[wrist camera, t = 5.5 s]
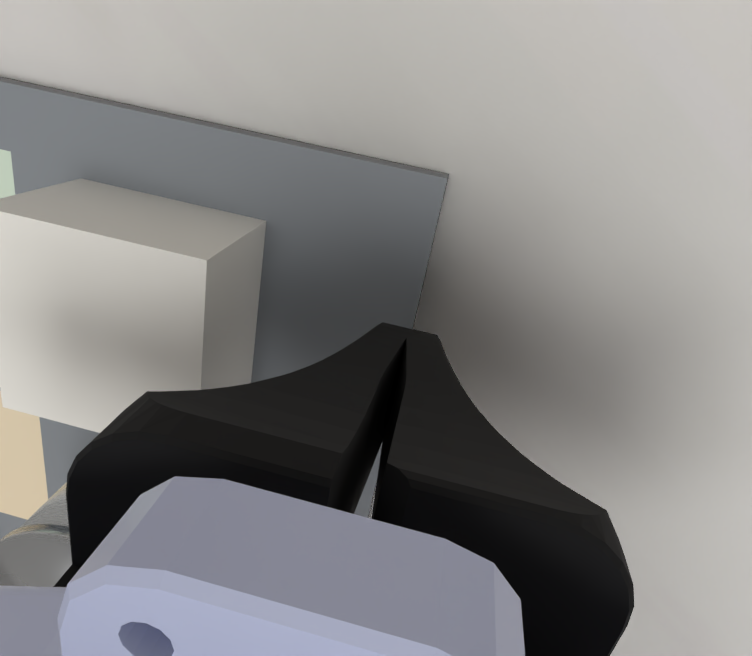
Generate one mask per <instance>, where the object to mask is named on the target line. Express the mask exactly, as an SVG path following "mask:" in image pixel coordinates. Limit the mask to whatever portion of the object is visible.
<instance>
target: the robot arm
mask: <svg viewBox="0 0 752 656" xmlns="http://www.w3.org/2000/svg"><path fill="white" fill-rule="evenodd" d="M381 444H382V448H381V455H380V462H379V469H378V477H377V484H376V491H375V499H374V506H373V513H372V519H370V518H367V517H363V516H359V515H356V514H354V512H355V510H356V507H357V505H358V502H359V500H360V497H361V495H362V492H363V490H364V487H365V484H366V482H367V479H368V477H369V474H370V472H371V469H372V467H373V464H374V462H375V459H376V457H377V454H378V452H379V449H380V446H381ZM66 502H67V513H68V524H69V536H70V547H71V558H72V565H71V566H70V567H69V569H68V570H67V571H66V572H65V573H64V575H63V576H62V577H61V578H60V579H59V581H58V582H57V583H56V584H55V585H54V586H53V587H38V586H0V656H610V654H611V653H612V651H613V649H614V647H615V646H616V644H617V642H618V641H619V639H620V637H621V635H622V634H623V632H624V630H625V629H626V627H627V625H628V622H629V619H630V616H631V613H632V611H633V608H634V592H633V582H632V579H631V576H630V572H629V569H628V566H627V563H626V559H625V556H624V553H623V550H622V547H621V544H620V541H619V539H618V536H617V534H616V532H615V529H614V527H613V525H612V523H611V520H610V518H609V515H608V513H607V510H605V509H603V508H602V507H600V506H598V505H597V504H595V503H593V502H591V501H590V500H588V499H586V498H585V497H583V496H581V495H580V494H578V493H576V492H575V491H573V490H571V489H570V488H568V487H566V486H565V485H563V484H561V483H560V482H558V481H557V480H555V479H554V478H553V477H551V476H550V475H549V474H547V473H546V472H544V471H543V470H542V469H540V468H539V467H537V466H536V465H535V464H533V463H532V462H531V461H530V460H528V459H527V458H526V457H525V456H523V455H522V454H521V453H520V452H519V451H518V450H517V449H515V448H514V447H513V446H512V445H511V444H510V443H509V442H508V441H507V440H506V439H504V438H503V437H502V436H501V435H500V434H499V433H498V432H497V431H496V430H495V429H494V428H493V427H492V425H491V424H490V423H489V422H488V421H487V420H486V418H485V417H484V416H483V415H482V414H481V413H480V412H479V410H478V409H477V408H476V407H475V405H474V404H473V403H472V401H471V400H470V398H469V397H468V395H467V394H466V392H465V391H464V389H463V388H462V386H461V384H460V382H459V381H458V379H457V377H456V375H455V373H454V371H453V369H452V367H451V365H450V363H449V361H448V359H447V357H446V354H445V352H444V349H443V347H442V344H441V341H440V339H439V338H438V336H437V335H434V334H430V333H426V332H422V331H417V330H413V329H409V328H405V327H401V326H397V325H393V324H388V323H384V322H382V323H380V324H379V325H377V326H375V327H374V328H373V329H371V330H370V331H369V332H367V333H366V334H364V335H363V336H362V337H360V338H359V339H357V340H356V341H354V342H353V343H351V344H349V345H348V346H346V347H345V348H343V349H342V350H340V351H338V352H336V353H335V354H333V355H331V356H329V357H327V358H325V359H323V360H321V361H319V362H317V363H315V364H312V365H310V366H307V367H305V368H302V369H299V370H297V371H294V372H291V373H288V374H285V375H281V376H277V377H273V378H269V379H265V380H261V381H257V382H253V383H248V384H243V385H237V386H231V387H223V388H214V389H204V390H185V391H147V392H146V393H144V394H143V395H142V396H141V397H139V398H138V399H137V400H136V401H134V402H133V403H132V404H131V405H130V406H128V407H127V408H126V409H125V410H124V411H123V412H122V413H121V414H119V415H118V416H117V417H116V418H115V419H114V420H113V421H112V422H111V423H110V424H109V425H108V426H107V427H106V428H105V429H104V430H103V431H102V432H101V433H100V434H98V435H97V436H96V437H95V438H94V439H93V440H92V441H91V442H90V443H89V444H88V445H87V446H86V447H85V448H84V449H83V450H82V451H81V452H79V453H78V454H77V455H76V457H75V459H74V461H73V463H72V465H71V467H70V469H69V471H68V473H67V485H66Z"/></svg>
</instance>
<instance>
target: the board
mask: <svg viewBox="0 0 752 656" xmlns="http://www.w3.org/2000/svg"><path fill="white" fill-rule="evenodd" d="M448 176H449V174H446V173H441V172H437V171H432V170H427V169H423V168H418V167H414V166H409V165H404V164H400V163H395V162H391V161H386V160H381V159H377V158H372V157H368V156H363V155H358V154H354V153H349V152H345V151H340V150H335V149H331V148H326V147H321V146H317V145H312V144H308V143H303V142H298V141H294V140H289V139H285V138H280V137H275V136H271V135H266V134H262V133H257V132H252V131H248V130H243V129H239V128H234V127H229V126H225V125H220V124H215V123H211V122H206V121H202V120H197V119H192V118H188V117H183V116H179V115H174V114H169V113H165V112H160V111H156V110H151V109H146V108H142V107H137V106H133V105H128V104H123V103H119V102H114V101H109V100H105V99H100V98H96V97H91V96H86V95H82V94H77V93H73V92H68V91H63V90H59V89H54V88H50V87H45V86H40V85H36V84H31V83H27V82H22V81H17V80H13V79H8V78H3V77H0V198H4V197H8V196H12V195H16V194H20V193H24V192H28V191H32V190H36V189H41V188H45V187H49V186H53V185H57V184H61V183H65V182H69V181H73V180H77V179H81V178H82V179H86V180H90V181H95V182H99V183H103V184H108V185H112V186H116V187H121V188H125V189H130V190H134V191H138V192H143V193H147V194H151V195H156V196H160V197H164V198H169V199H173V200H177V201H182V202H186V203H190V204H195V205H199V206H204V207H208V208H212V209H217V210H221V211H225V212H230V213H234V214H238V215H243V216H247V217H251V218H256V219H260V220H264V221H266V229H265V240H264V250H263V261H262V271H261V282H260V293H259V303H258V314H257V324H256V335H255V345H254V356H253V366H252V377H251V383H253V382H257V381H261V380H265V379H269V378H273V377H277V376H281V375H285V374H288V373H291V372H294V371H297V370H299V369H302V368H305V367H307V366H310V365H312V364H315V363H317V362H319V361H321V360H323V359H325V358H327V357H329V356H331V355H333V354H335V353H336V352H338V351H340V350H342V349H343V348H345V347H346V346H348V345H349V344H351V343H353V342H354V341H356V340H357V339H359V338H360V337H362V336H363V335H364V334H366V333H367V332H369V331H370V330H371V329H373V328H374V327H375V326H377V325H379V324H380V323H382V322H384V323H388V324H393V325H397V326H401V327H405V328H409V329H413V325H414V320H415V316H416V312H417V308H418V303H419V299H420V295H421V291H422V286H423V282H424V278H425V274H426V269H427V265H428V261H429V257H430V252H431V248H432V244H433V240H434V235H435V231H436V227H437V223H438V218H439V214H440V210H441V206H442V201H443V197H444V193H445V189H446V184H447V180H448ZM98 434H100V433H98V432H94V431H90V430H87V429H83V428H79V427H75V426H72V425H68V424H64V423H60V422H57V421H53V420H49V419H46V418H42V417H38V416H34V415H31V414H27V413H23V412H19V411H16V410H12V409H8V408H4V407H3V405H2V398H1V391H0V540H1V539H2V538H3V537H4V536H5V535H7V534H8V533H10V532H11V531H13V530H15V529H18V528H20V527H21V526H22V525H23V524H24V523H25V522H26V521H27V520H28V519H29V518H30V517H31V516H32V515H33V514H34V513H35V512H36V511H37V510H38V509H39V508H40V507H41V506H42V505H43V504H44V503H45V502H46V501H47V500H48V499H49V498H50V497H51V496H52V495H53V494H55V493H56V492H57V491H58V490H59V489H60V488H61V487H62V486H63V485H64V484H65V483H66V482H67V473H68V471H69V469H70V467H71V465H72V463H73V461H74V459H75V457H76V455H77V454H78V453H79V452H81V451H82V450H83V449H84V448H85V447H86V446H87V445H88V444H89V443H90V442H91V441H92V440H93V439H94V438H95V437H96V436H97V435H98ZM381 448H382V444H381V446H380V449H379V452H378V454H377V457H376V459H375V462H374V464H373V467H372V469H371V472H370V474H369V477H368V479H367V482H366V484H365V487H364V490H363V492H362V495H361V497H360V500H359V502H358V505H357V507H356V510H355V512H354V514H356V515H359V516H363V517H367V518H368V516H369V512H370V507H371V503H372V499H373V495H374V490H375V486H376V482H377V477H378V469H379V462H380V455H381Z"/></svg>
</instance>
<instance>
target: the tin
mask: <svg viewBox="0 0 752 656" xmlns="http://www.w3.org/2000/svg"><path fill="white" fill-rule="evenodd" d="M66 485H67V482H66V483H65V484H64V485H63V486H62V487H61V488H60V489H59V490H58V491H57V492H56V493H55V494H53V495H52V496H51V497H50V498H49V499H48V500H47V501H46V502H45V503H44V504H43V505H42V506H41V507H40V508H39V509H38V510H37V511H36V512H35V513H34V514H33V515H32V516H31V517H30V518H29V519H28V520H27V521H26V522H25V523H24V524H23V525H22V526H21V527H20V528H18V529H15V530H13V531H11V532H10V533H8V534H7V535H5V536H4V537H3V538H2V539H1V540H0V586H38V587H53V586H54V585H55V584H56V583H57V582H58V581H59V579H60V578H61V577H62V576H63V575H64V573H65V572H66V571H67V570H68V569H69V567H70V566H71V565H72V558H71V547H70V536H69V524H68V513H67V502H66Z"/></svg>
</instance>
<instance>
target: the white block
mask: <svg viewBox="0 0 752 656" xmlns="http://www.w3.org/2000/svg"><path fill="white" fill-rule="evenodd" d="M265 229H266V221H264V220H260V219H256V218H251V217H247V216H243V215H238V214H234V213H230V212H225V211H221V210H217V209H212V208H208V207H204V206H199V205H195V204H190V203H186V202H182V201H177V200H173V199H169V198H164V197H160V196H156V195H151V194H147V193H143V192H138V191H134V190H130V189H125V188H121V187H116V186H112V185H108V184H103V183H99V182H95V181H90V180H86V179H82V178H81V179H77V180H73V181H69V182H65V183H61V184H57V185H53V186H49V187H45V188H41V189H36V190H32V191H28V192H24V193H20V194H16V195H12V196H8V197H4V198H0V391H1V398H2V405H3V407H4V408H8V409H12V410H16V411H19V412H23V413H27V414H31V415H34V416H38V417H42V418H46V419H49V420H53V421H57V422H60V423H64V424H68V425H72V426H75V427H79V428H83V429H87V430H90V431H94V432H98V433H101V432H102V431H103V430H104V429H105V428H106V427H107V426H108V425H109V424H110V423H111V422H112V421H113V420H114V419H115V418H116V417H117V416H118V415H119V414H121V413H122V412H123V411H124V410H125V409H126V408H127V407H128V406H130V405H131V404H132V403H133V402H134V401H136V400H137V399H138V398H139V397H141V396H142V395H143V394H144V393H146V392H147V391H185V390H204V389H214V388H223V387H231V386H237V385H243V384H248V383H251V377H252V366H253V356H254V345H255V335H256V324H257V314H258V303H259V293H260V282H261V271H262V261H263V250H264V240H265Z"/></svg>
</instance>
